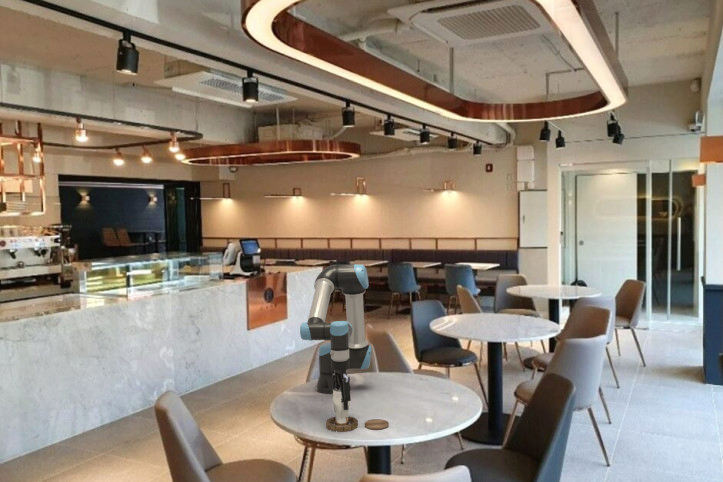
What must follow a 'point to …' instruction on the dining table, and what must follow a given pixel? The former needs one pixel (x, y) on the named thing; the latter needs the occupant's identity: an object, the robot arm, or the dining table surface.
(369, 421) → the walnut coaster
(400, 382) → the dining table surface
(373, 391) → the dining table surface
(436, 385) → the dining table surface
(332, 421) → the ring
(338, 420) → the beer glass
